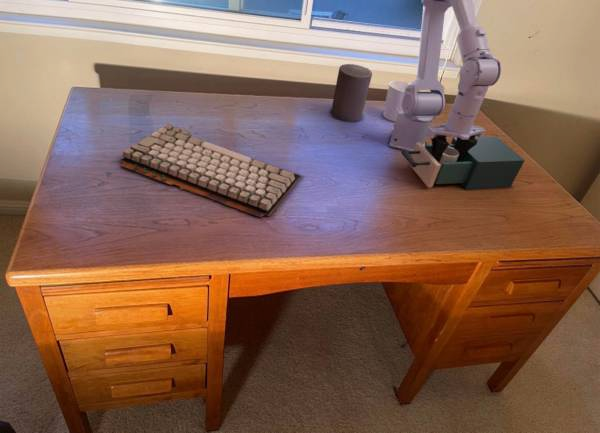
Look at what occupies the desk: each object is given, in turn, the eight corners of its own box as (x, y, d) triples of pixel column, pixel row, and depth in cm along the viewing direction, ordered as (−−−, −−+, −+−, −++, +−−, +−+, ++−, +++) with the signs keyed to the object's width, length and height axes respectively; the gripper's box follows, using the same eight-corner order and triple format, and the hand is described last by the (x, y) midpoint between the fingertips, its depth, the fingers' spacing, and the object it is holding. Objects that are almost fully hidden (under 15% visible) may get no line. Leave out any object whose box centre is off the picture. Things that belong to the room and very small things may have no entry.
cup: (432, 169, 106) (438, 153, 104) (432, 159, 110) (438, 143, 108) (452, 174, 106) (459, 158, 103) (452, 164, 110) (458, 148, 107)
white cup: (407, 115, 137) (417, 85, 131) (404, 125, 131) (413, 94, 125) (383, 108, 138) (391, 78, 132) (378, 118, 132) (387, 87, 126)
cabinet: (465, 189, 107) (478, 162, 102) (442, 164, 116) (452, 137, 111) (510, 187, 111) (525, 160, 106) (484, 162, 120) (497, 136, 114)
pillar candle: (324, 111, 131) (332, 62, 122) (344, 104, 137) (354, 57, 128) (348, 124, 126) (359, 74, 117) (368, 116, 132) (380, 68, 123)
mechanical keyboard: (301, 176, 102) (303, 164, 100) (266, 222, 88) (268, 209, 86) (164, 131, 110) (163, 119, 108) (113, 166, 96) (110, 153, 94)
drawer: (409, 188, 103) (417, 166, 99) (391, 164, 110) (398, 142, 106) (471, 185, 108) (481, 163, 104) (450, 162, 115) (458, 141, 111)
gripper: (445, 119, 94) (426, 172, 102) (501, 119, 98) (477, 169, 106) (430, 105, 99) (412, 156, 107) (483, 105, 103) (462, 154, 112)
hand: (444, 161), depth 107 cm, fingers closed on cup, 5 cm apart
